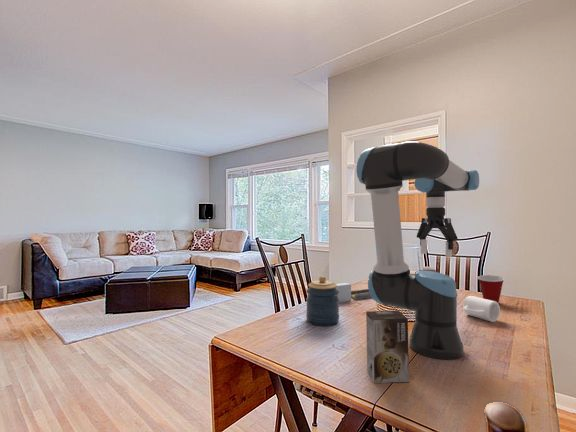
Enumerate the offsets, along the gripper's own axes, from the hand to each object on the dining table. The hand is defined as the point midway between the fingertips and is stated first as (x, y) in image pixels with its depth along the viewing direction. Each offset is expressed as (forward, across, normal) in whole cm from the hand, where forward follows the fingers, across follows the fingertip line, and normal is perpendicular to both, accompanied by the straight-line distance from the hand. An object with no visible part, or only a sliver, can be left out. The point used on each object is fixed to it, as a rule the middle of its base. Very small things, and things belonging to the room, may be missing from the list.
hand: (435, 255), depth 134 cm
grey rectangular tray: (+24, +30, +17) cm, 42 cm away
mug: (+24, -15, -6) cm, 29 cm away
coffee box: (+24, -38, +56) cm, 72 cm away
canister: (+24, +5, +53) cm, 58 cm away
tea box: (+24, +20, -8) cm, 32 cm away
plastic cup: (+24, -1, -32) cm, 40 cm away
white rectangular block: (+24, +27, +32) cm, 48 cm away
